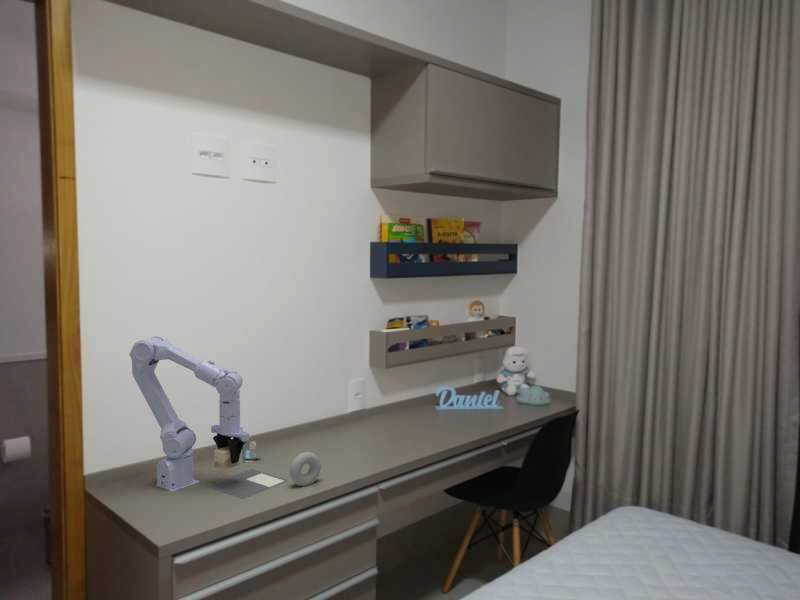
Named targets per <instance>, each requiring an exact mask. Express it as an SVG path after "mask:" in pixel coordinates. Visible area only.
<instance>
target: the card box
mask: <svg viewBox="0 0 800 600" xmlns="http://www.w3.org/2000/svg"><path fill="white" fill-rule="evenodd" d="M245 451H246V445H244V446H243V448H242V451H241V454H240V458H239V462H237V463H234V464H233V463H231V457H230V449H229V446H226V447H223V448H220V449H218V448H217V449H214V450H213V452H214V453H213V456H214V457H213V459H214V460H213V467H214V468H216V469H219V470H220V471H221V470H222V471H226V470H228V469H230V468H231V469H232V468H234V467H237V466H240V465H243V464H245V463H246V461H247V459H246V453H245Z"/></svg>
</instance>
